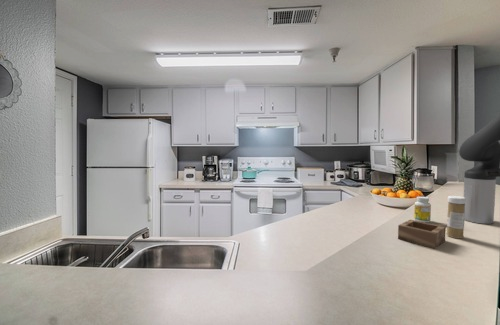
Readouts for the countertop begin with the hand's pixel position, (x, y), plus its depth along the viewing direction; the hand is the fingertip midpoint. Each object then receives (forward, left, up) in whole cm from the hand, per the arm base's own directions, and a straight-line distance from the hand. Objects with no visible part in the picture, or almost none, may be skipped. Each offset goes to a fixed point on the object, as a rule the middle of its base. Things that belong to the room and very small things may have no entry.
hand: (489, 173), depth 74 cm
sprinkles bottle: (0, -7, -22) cm, 23 cm away
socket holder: (+12, -13, -22) cm, 28 cm away
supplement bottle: (-12, -20, -22) cm, 32 cm away
